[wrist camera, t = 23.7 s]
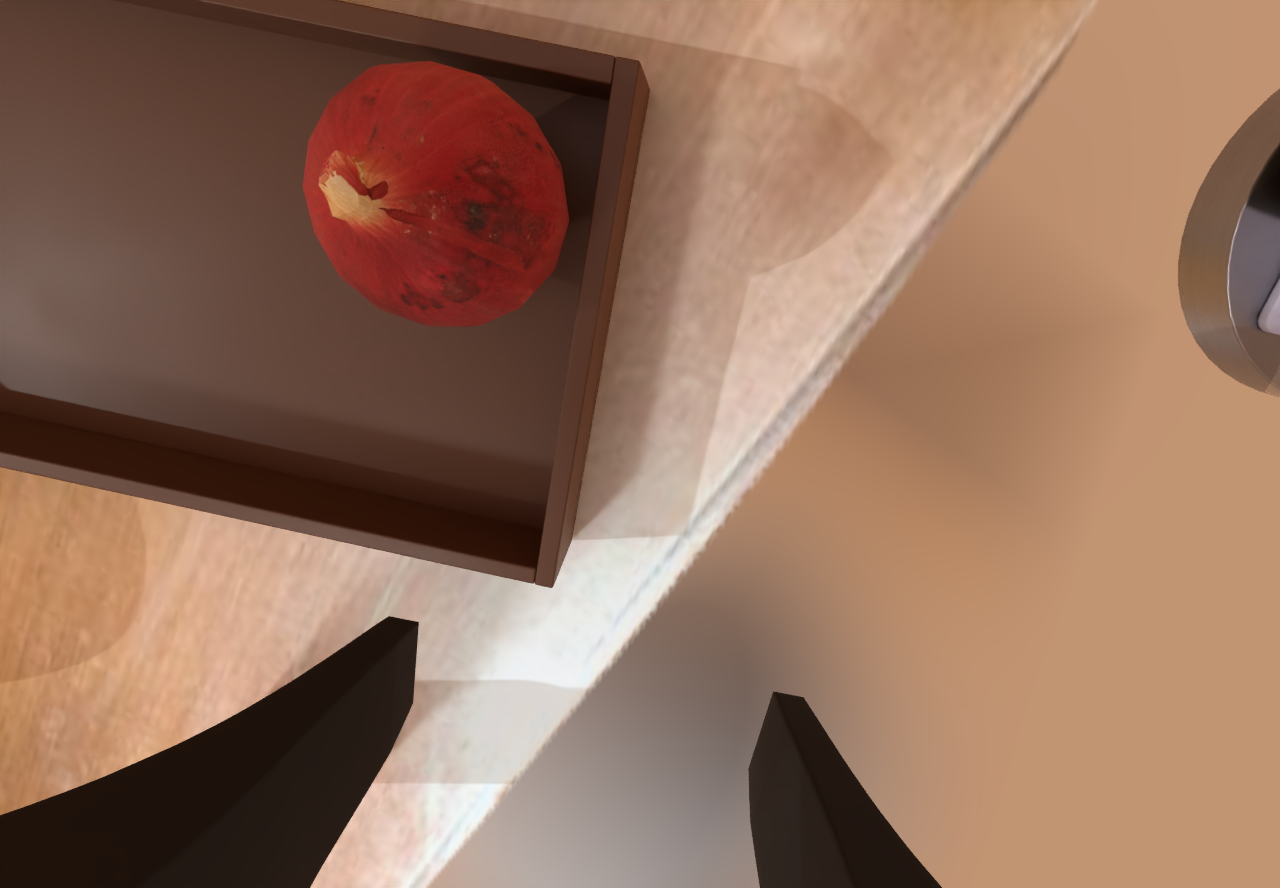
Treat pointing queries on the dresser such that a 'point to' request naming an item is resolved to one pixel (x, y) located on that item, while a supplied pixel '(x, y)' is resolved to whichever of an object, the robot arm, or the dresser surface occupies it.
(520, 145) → the pomegranate
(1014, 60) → the dresser surface
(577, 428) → the brown dish
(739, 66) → the dresser surface
